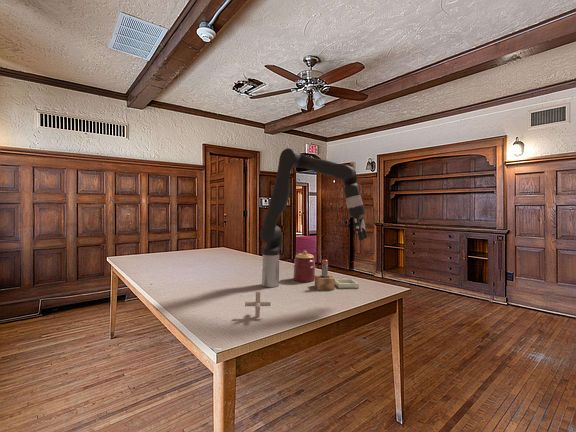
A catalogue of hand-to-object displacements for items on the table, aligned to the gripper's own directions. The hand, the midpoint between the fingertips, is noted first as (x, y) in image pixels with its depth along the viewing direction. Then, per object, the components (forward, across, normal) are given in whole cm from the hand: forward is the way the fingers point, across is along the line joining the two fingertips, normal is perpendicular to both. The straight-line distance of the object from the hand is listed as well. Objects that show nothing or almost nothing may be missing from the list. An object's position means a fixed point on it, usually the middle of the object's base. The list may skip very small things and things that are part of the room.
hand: (363, 239), depth 144 cm
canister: (+18, -23, -45) cm, 54 cm away
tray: (+25, -21, -20) cm, 38 cm away
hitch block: (+22, -12, -29) cm, 39 cm away
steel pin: (+22, -12, -29) cm, 39 cm away
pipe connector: (+19, +42, -40) cm, 61 cm away
